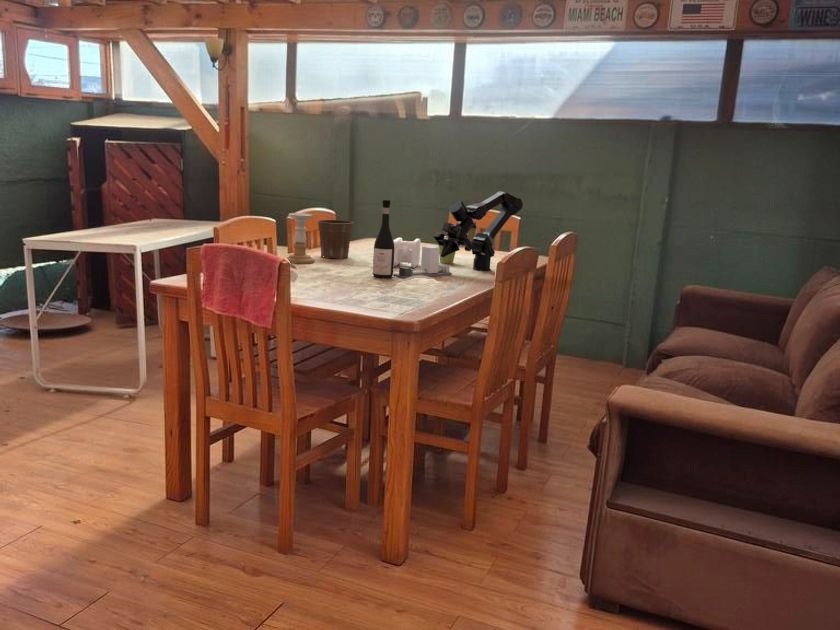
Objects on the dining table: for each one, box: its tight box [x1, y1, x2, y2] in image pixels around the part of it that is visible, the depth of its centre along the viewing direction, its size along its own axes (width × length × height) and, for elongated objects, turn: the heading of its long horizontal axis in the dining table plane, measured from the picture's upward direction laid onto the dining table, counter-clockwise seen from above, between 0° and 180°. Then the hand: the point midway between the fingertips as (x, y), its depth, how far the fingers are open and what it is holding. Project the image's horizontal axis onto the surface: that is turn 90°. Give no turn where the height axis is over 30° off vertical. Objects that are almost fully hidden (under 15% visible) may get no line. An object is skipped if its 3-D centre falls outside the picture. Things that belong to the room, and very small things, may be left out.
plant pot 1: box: [316, 219, 355, 259], centre depth 325 cm, size 16×16×16 cm
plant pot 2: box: [437, 244, 456, 265], centre depth 329 cm, size 9×9×9 cm
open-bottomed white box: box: [420, 245, 440, 274], centre depth 294 cm, size 5×5×10 cm
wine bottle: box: [372, 199, 395, 279], centre depth 281 cm, size 8×8×30 cm
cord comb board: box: [392, 264, 453, 280], centre depth 292 cm, size 25×8×4 cm, turn 133°
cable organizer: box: [393, 237, 422, 269], centre depth 313 cm, size 15×11×12 cm
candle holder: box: [285, 212, 315, 264], centre depth 306 cm, size 12×12×20 cm
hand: (441, 256), depth 298 cm, fingers closed
